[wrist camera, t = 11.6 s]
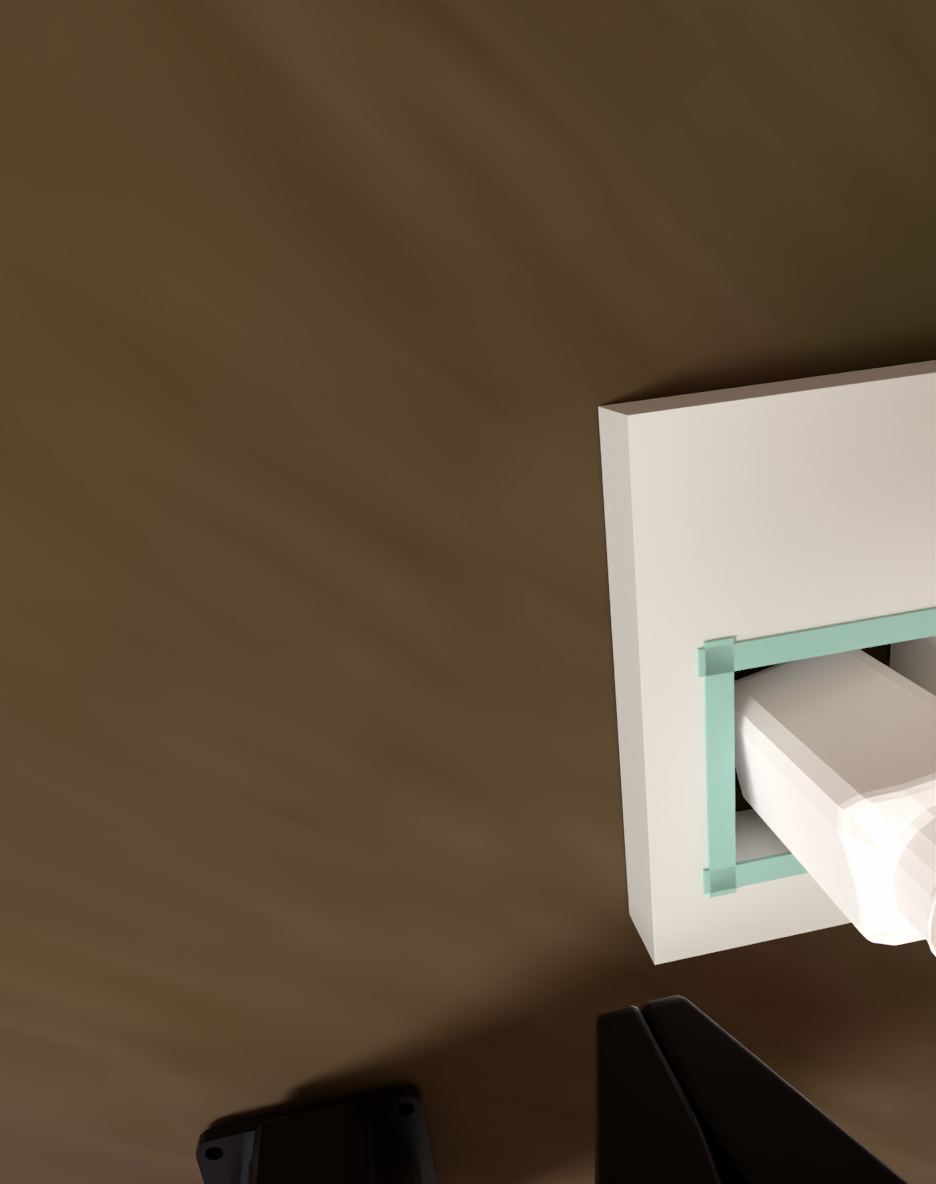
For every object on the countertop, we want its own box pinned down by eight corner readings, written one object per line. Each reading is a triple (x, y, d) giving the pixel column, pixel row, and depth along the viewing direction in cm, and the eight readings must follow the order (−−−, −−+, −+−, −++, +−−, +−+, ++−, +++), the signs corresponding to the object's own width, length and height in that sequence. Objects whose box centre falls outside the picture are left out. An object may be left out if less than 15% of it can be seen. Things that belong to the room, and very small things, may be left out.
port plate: (946, 847, 25) (999, 893, 23) (629, 913, 24) (656, 967, 22) (992, 352, 20) (1064, 355, 18) (598, 406, 19) (628, 415, 17)
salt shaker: (705, 682, 22) (965, 934, 13) (843, 628, 22) (1197, 839, 13) (737, 802, 23) (993, 1105, 14) (867, 750, 23) (1202, 1017, 14)
